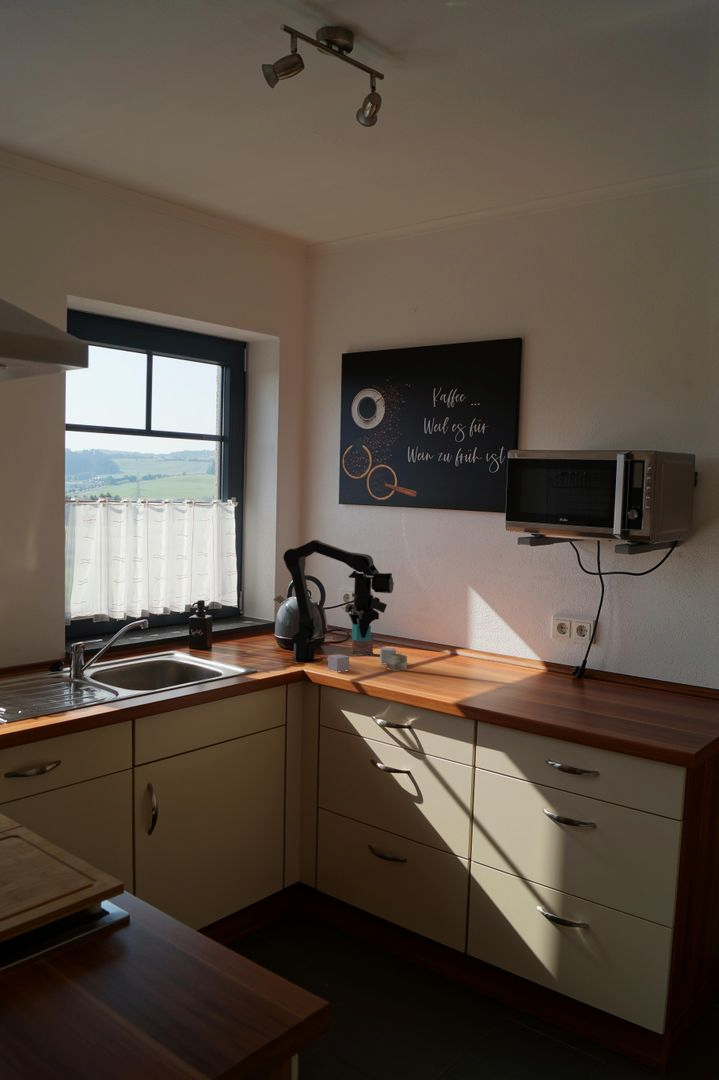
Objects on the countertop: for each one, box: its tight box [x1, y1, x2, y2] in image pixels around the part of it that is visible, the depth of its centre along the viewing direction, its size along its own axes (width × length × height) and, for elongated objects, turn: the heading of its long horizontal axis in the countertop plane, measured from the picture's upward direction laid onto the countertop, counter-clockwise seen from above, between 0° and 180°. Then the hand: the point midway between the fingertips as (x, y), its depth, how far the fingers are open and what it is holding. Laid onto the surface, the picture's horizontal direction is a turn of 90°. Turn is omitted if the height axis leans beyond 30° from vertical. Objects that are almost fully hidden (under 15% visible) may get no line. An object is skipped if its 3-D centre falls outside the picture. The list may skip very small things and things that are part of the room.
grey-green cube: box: [385, 653, 408, 671], centre depth 296 cm, size 5×5×5 cm
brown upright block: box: [350, 633, 375, 656], centre depth 320 cm, size 8×3×10 cm, turn 84°
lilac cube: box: [327, 653, 350, 672], centre depth 292 cm, size 5×5×5 cm
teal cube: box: [351, 623, 372, 641], centre depth 301 cm, size 5×5×5 cm
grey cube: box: [379, 646, 397, 664], centre depth 307 cm, size 5×5×5 cm
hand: (361, 636), depth 301 cm, fingers closed on teal cube, 5 cm apart
